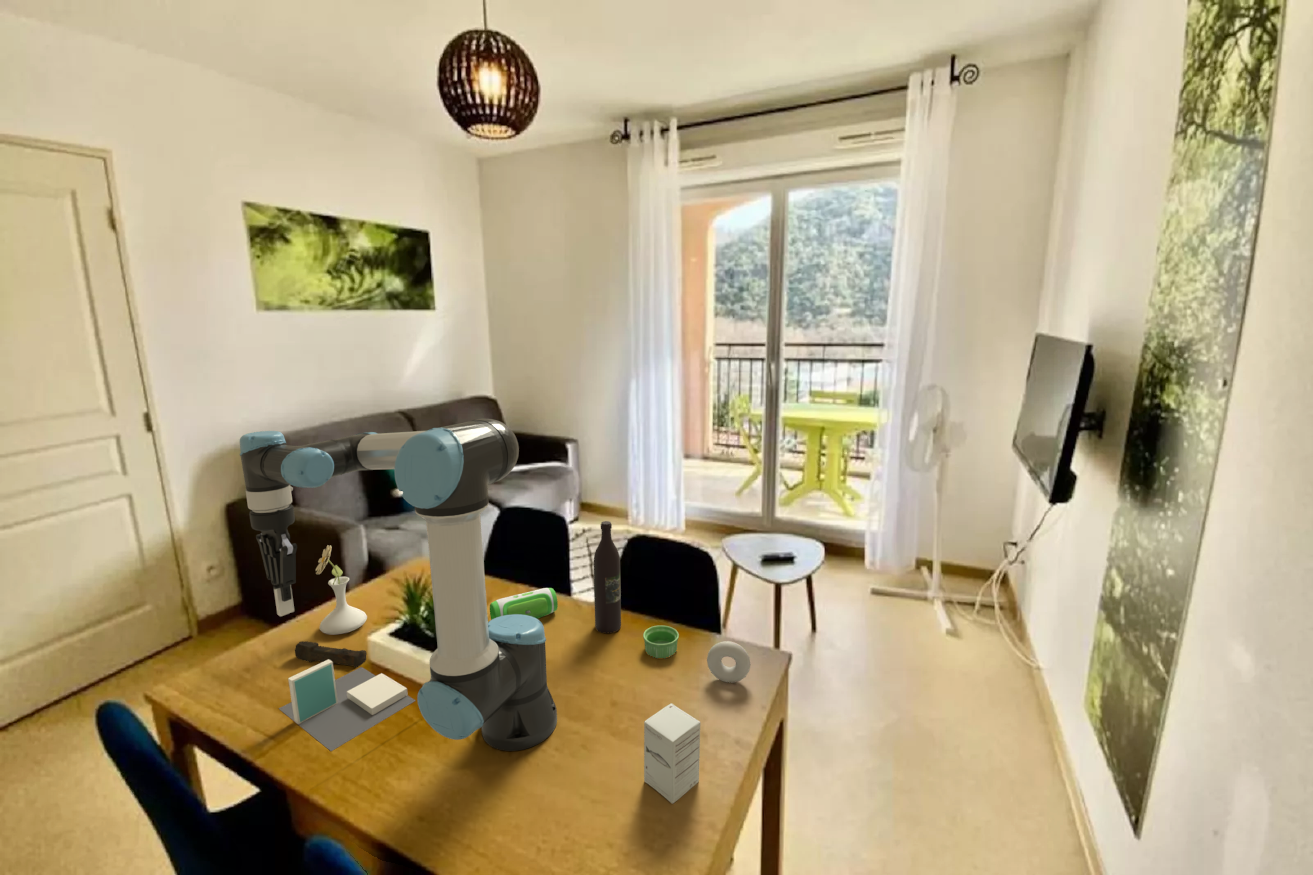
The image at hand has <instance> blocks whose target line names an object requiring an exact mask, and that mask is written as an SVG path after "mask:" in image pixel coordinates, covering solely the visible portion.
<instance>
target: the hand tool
mask: <svg viewBox="0 0 1313 875" xmlns="http://www.w3.org/2000/svg"><path fill="white" fill-rule="evenodd" d="M367 655H368V654H367V650H364V649H361V650H355V649H353V650H352V649H348V648H345V647H344V648H336V647H329V646H322V645H319V642H312V641H308V640H307V641H305V640H304V641H303V640H302V641H299V642H298V643H297V644H296V645H295V648H294V656H295V657H296V658H297V659H299V660H300V661H305V662H308V663H313V662H315V661H316V662H320V663H322V662H324V661H326V660H328V659H329V660H331V661H332V662H333V664H336V665H341V666H342V665H344V666H351V667H354V669H358V668H360V666H361V665H362V664H364V663H365V662H366V661H367Z"/></svg>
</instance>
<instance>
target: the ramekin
mask: <svg viewBox="0 0 1313 875" xmlns="http://www.w3.org/2000/svg"><path fill="white" fill-rule="evenodd" d="M679 636H680V634H679V632H678V631H677V629H676V628H673V627H671V626H668V625H654V626H653V625H652V626H651V627H649V628H647V629H645V631H644V632H643V636H642V637H643V641H644V642H643V643H644V650H645V653H646V652H647V653H646V654H647V655H648V656H649V655H650V656H649V657H651V656H653V657H652V658H654V657H655V658H654V659H658V658H664V659H667V658H666V657H669V656H671V655H673V654H674V653H675V652H676V653H677V651H676V650H678V640H679ZM676 653H675V654H676ZM675 654H674V655H675ZM674 655H673V656H674ZM671 657H672V656H671ZM669 658H670V657H669Z"/></svg>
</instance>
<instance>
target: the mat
mask: <svg viewBox="0 0 1313 875" xmlns="http://www.w3.org/2000/svg"><path fill="white" fill-rule="evenodd" d="M375 676H376V675H375V674H374V673H372V672H371V671H369V670H367V669H366V668H364V667H362V666H361V667H360V666H359V667H357V668H355V669H354V670H353V671H351V672H348V673H347V674H344V675H343V676H340V677H338V678H337V679H336V678H335V684H336V692H337V700H338V703H337V704H336V705H334V706H332V707H330V708H328V709H326V710H324V711H323V712H321V713H319V714H317V715H315V716H313V717H311V718H309V719H308V720H306V721H304V722H302V723H300V724H297V725H298V726H299V727H300V728H301V729H303V730H304V731H305V732H307V733H308V734H309V735H311V737H312V738H314V739H315V740H317V741H318V742H319V743H320V744H322V746H324V747H325V748H326V749H328V750H329V752H333V751H334V750H336V749H337V748H339V747H341V746H343V745H344V744H346V743H348V742H349V741H351V740H352V739H355V738H356V737H358V736H360V735H361V734H362V733H364V732H366V731H368V730H370V729H371V728H372V727H375V726H376V725H378V724H379V723H381V722H383V721H384V720H386V719H388V718H389V717H392V716H393V715H394V714H396V713H398V712H399V711H401V710H403V709H404V708H406V707H407V706H410V705H411V704H413V703H414V702H416V701H417V700H416V699H415V698H412V697H411V696H410V695H407V696H405V697H403V698H402V699H400V700H398V701H396V702H395V703H393V704H391V705H390V706H388V707H386V708H384V709H383V710H381V711H379V712H377V713H376V714H374V715H371V714H370V713H369V712H367V711H366V710H364V709H363V708H361V707H360V706H358V705H357V704H356V703H354V702H353V701H351V700H350V699H348V698H347V691H349V690H350V689H352V688H354V687H356V686H358V685H360V684H362V683H364V682H366V681H368V680H370V679H371V678H373V677H375ZM278 709H279V711H281V712H282V713H283V714H284V715H285V716H287V717H288V718H289V719H291V721H293V722H294V723H296V722H295V721H294V714H293V708H292V701H291V702H289V703H287V704H285V705H283V706H281V707H279V708H278Z"/></svg>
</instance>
